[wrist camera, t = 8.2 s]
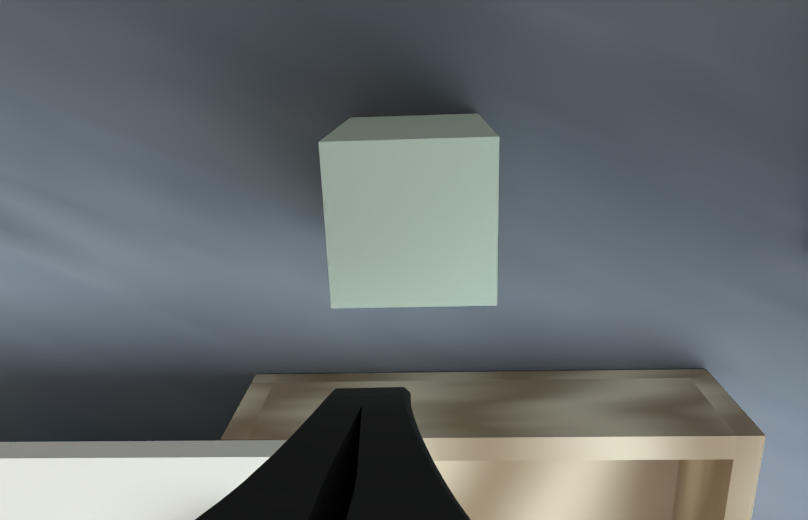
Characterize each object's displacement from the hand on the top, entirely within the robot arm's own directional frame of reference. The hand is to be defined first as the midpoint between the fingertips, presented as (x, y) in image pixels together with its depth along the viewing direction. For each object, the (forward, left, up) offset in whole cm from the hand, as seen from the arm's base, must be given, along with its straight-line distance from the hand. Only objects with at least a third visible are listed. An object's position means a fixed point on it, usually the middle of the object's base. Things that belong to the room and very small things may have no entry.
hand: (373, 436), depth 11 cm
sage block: (-1, -3, -10) cm, 11 cm away
